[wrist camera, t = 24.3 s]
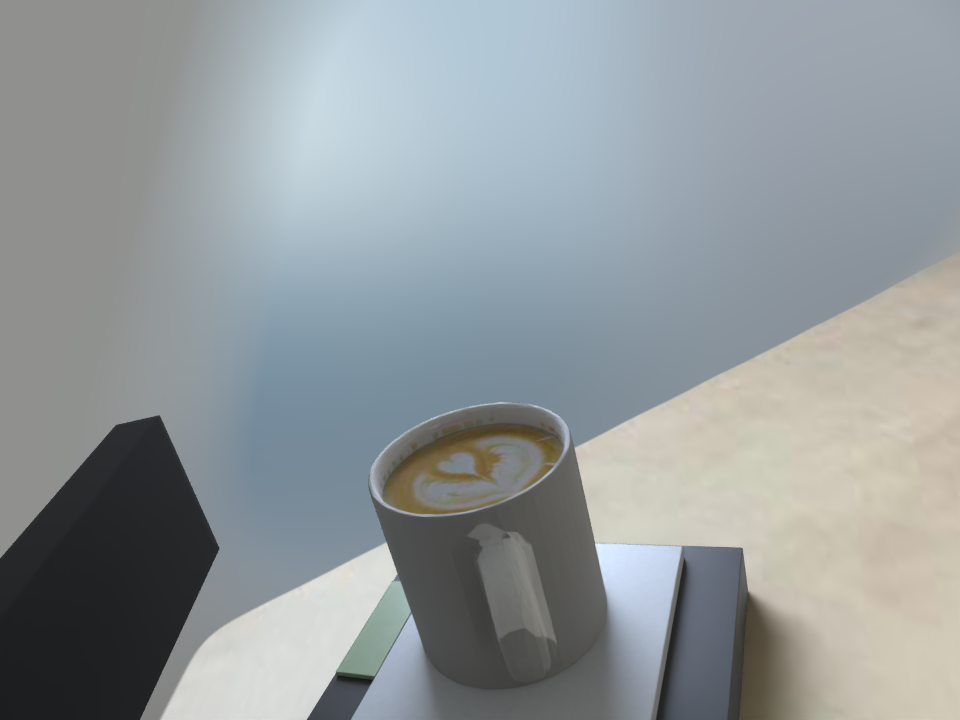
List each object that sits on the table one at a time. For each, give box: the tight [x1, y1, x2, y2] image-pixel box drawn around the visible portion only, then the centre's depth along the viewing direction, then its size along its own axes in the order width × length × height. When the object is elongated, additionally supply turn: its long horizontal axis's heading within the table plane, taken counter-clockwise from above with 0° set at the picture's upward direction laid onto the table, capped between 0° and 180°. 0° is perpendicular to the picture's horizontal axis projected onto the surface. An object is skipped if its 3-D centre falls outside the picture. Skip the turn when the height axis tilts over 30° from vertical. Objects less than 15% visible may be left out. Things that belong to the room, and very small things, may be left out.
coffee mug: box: [368, 402, 607, 689], centre depth 37 cm, size 13×10×10 cm
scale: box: [307, 543, 748, 720], centre depth 40 cm, size 20×16×4 cm
